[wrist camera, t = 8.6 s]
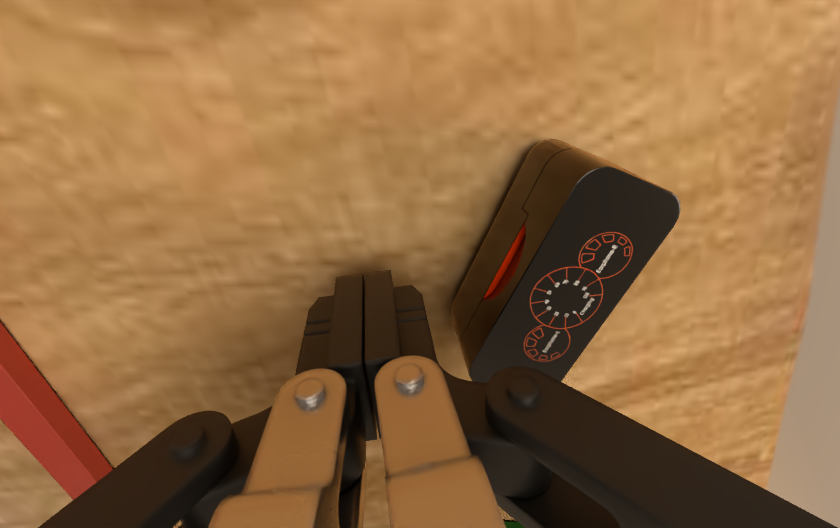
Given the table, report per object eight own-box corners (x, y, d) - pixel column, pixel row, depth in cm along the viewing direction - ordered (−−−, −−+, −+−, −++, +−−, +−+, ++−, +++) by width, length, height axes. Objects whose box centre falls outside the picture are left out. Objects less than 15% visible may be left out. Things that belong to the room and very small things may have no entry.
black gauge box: (432, 328, 14) (449, 402, 11) (532, 127, 11) (590, 157, 8) (544, 356, 15) (585, 428, 12) (661, 183, 12) (751, 226, 9)
